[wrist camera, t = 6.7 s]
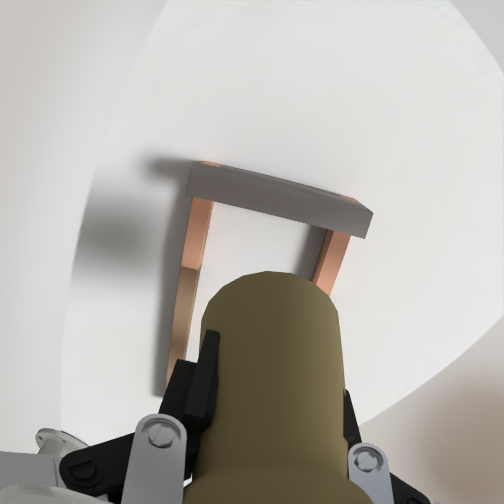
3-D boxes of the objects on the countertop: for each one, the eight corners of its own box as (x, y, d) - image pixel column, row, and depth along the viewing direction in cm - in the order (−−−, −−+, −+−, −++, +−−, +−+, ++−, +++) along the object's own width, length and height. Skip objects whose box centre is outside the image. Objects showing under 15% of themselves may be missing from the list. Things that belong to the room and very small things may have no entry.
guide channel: (271, 418, 29) (271, 450, 25) (167, 397, 28) (157, 427, 24) (354, 199, 21) (373, 212, 17) (204, 161, 20) (191, 166, 17)
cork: (178, 348, 14) (101, 579, 4) (246, 242, 12) (190, 584, 2) (287, 399, 15) (294, 610, 5) (367, 314, 13) (465, 561, 3)
